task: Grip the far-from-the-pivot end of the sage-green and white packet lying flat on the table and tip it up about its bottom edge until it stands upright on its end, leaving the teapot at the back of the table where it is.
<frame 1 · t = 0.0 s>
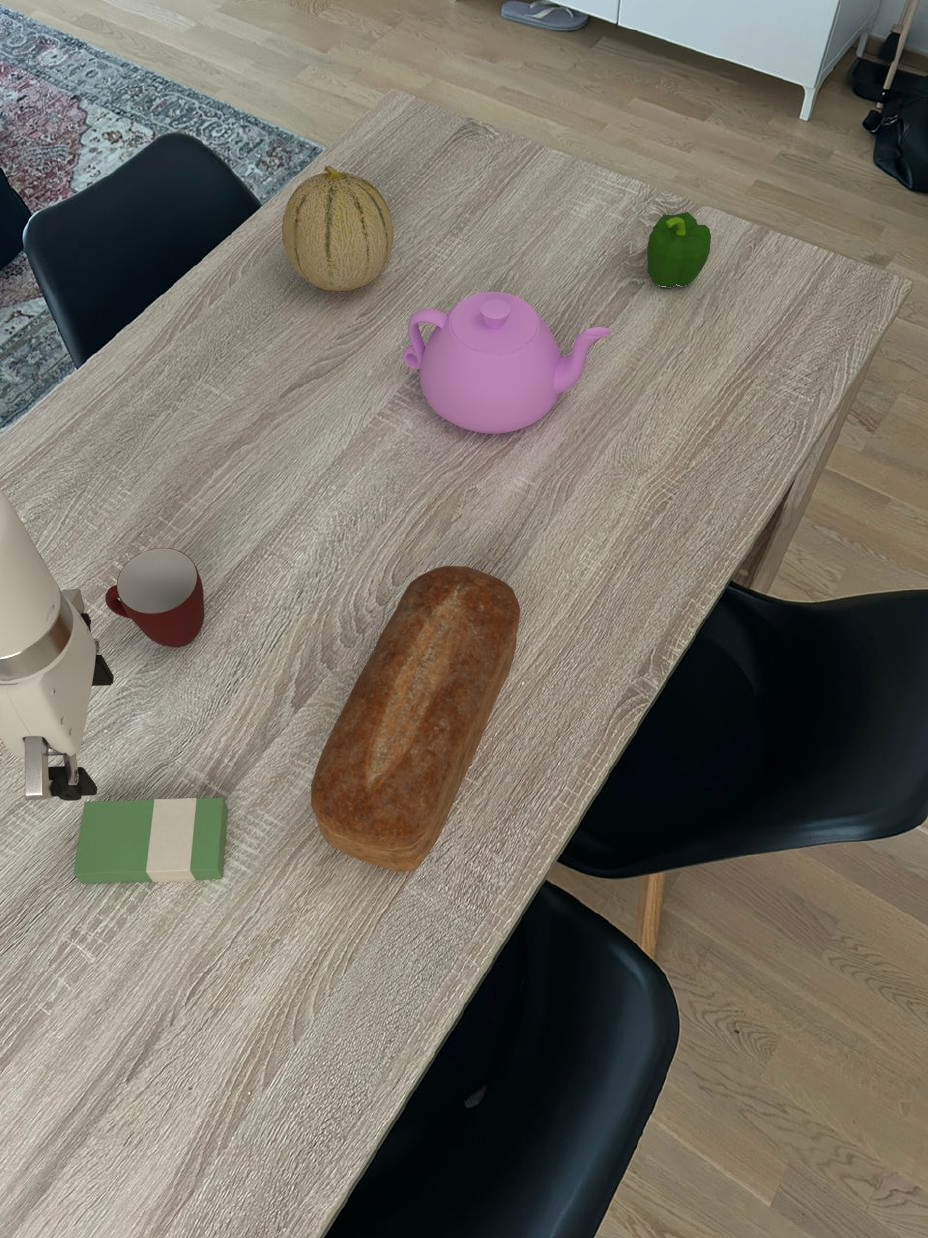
hand: (86, 735, 83), 20 cm above the table, tool pointing down, fingers open, 9 cm apart
mug: (167, 632, 112), on the table
bell pepper: (669, 277, 144), on the table
cantaloupe: (342, 278, 142), on the table
teapot: (498, 393, 132), on the table
packet: (153, 840, 98), point 2 cm above the table, hinge at 1.2°
bread: (422, 736, 106), on the table
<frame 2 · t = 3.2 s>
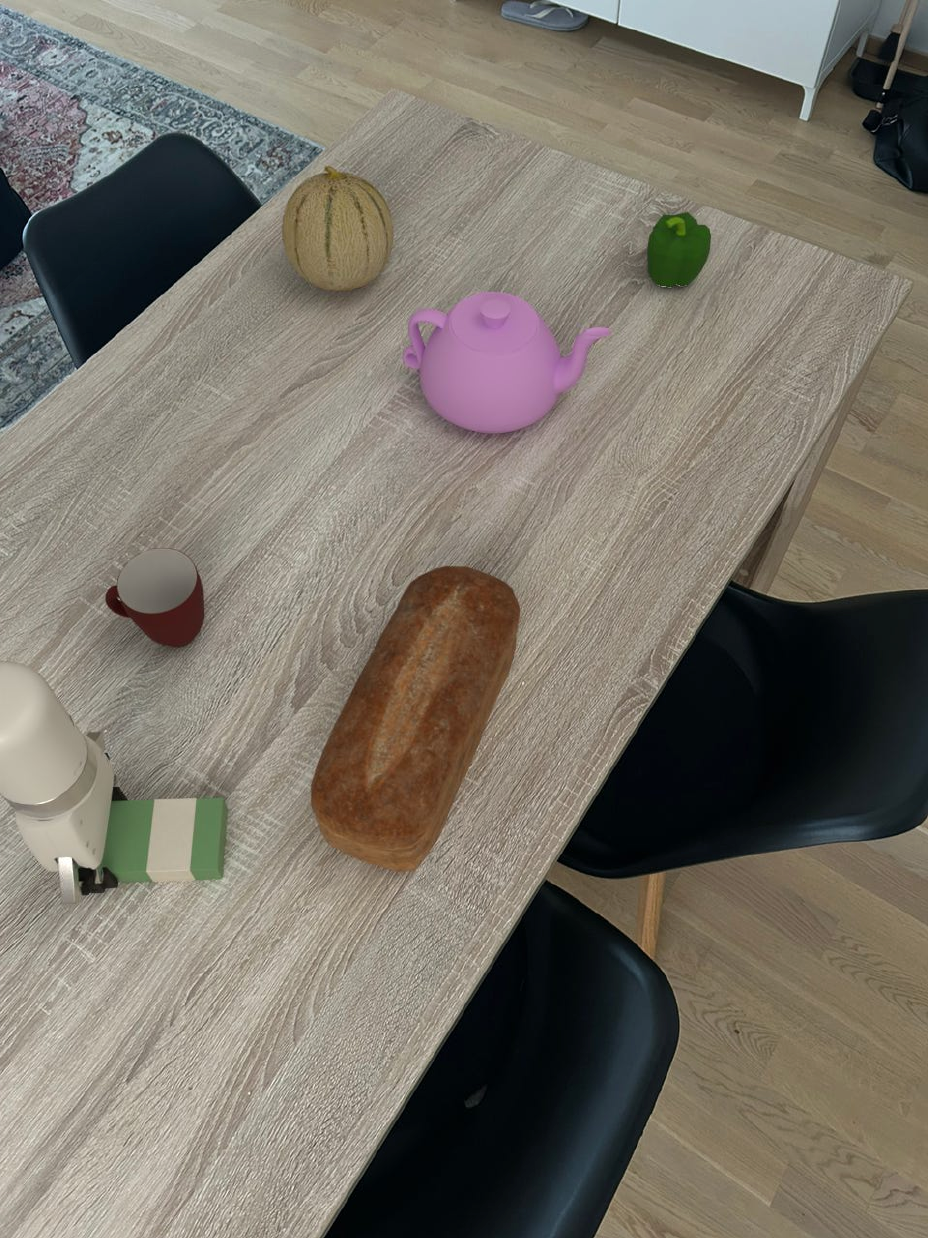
hand: (106, 844, 98), 1 cm above the table, tool pointing down, fingers closed on packet, 7 cm apart
packet: (153, 840, 98), point 2 cm above the table, hinge at 1.1°, touching gripper
everything else where it was.
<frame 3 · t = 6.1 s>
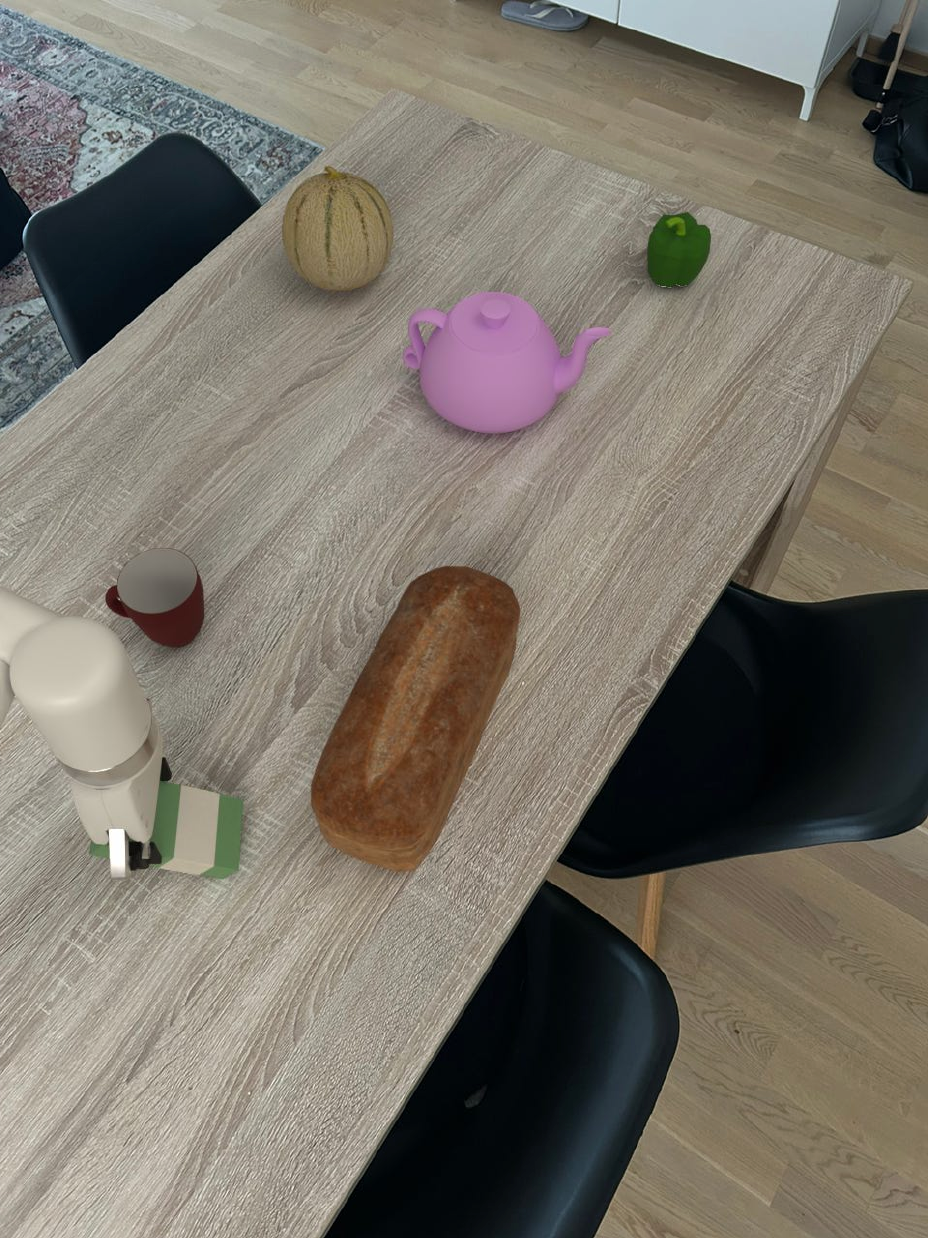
hand: (149, 818, 93), 7 cm above the table, tool pointing down, fingers closed on packet, 7 cm apart
packet: (169, 826, 95), point 5 cm above the table, hinge at 38.4°, touching gripper
everything else where it was.
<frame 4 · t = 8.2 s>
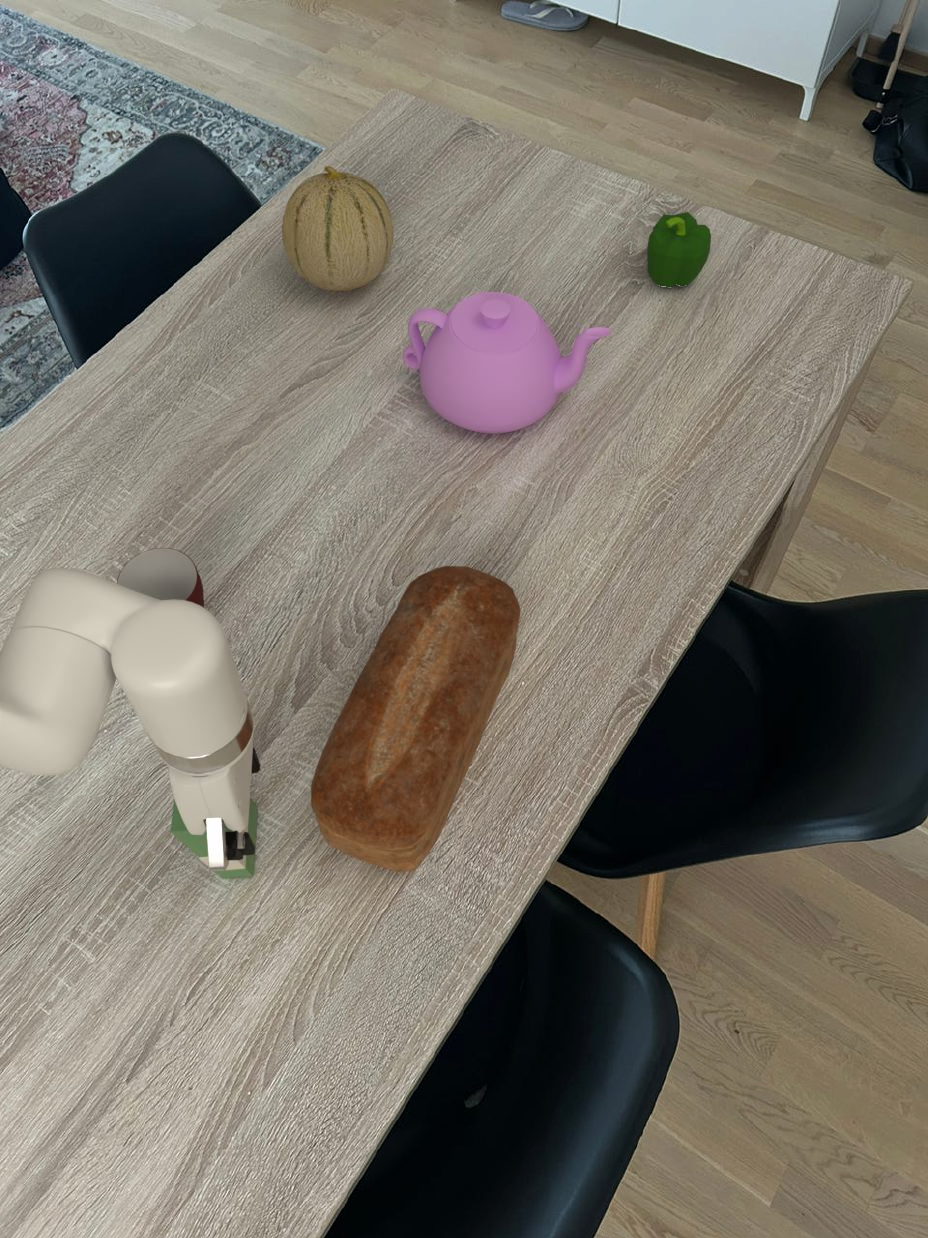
hand: (240, 809, 93), 9 cm above the table, tool pointing down, fingers closed on packet, 7 cm apart
packet: (217, 818, 94), point 7 cm above the table, hinge at 80.8°, touching gripper
everything else where it was.
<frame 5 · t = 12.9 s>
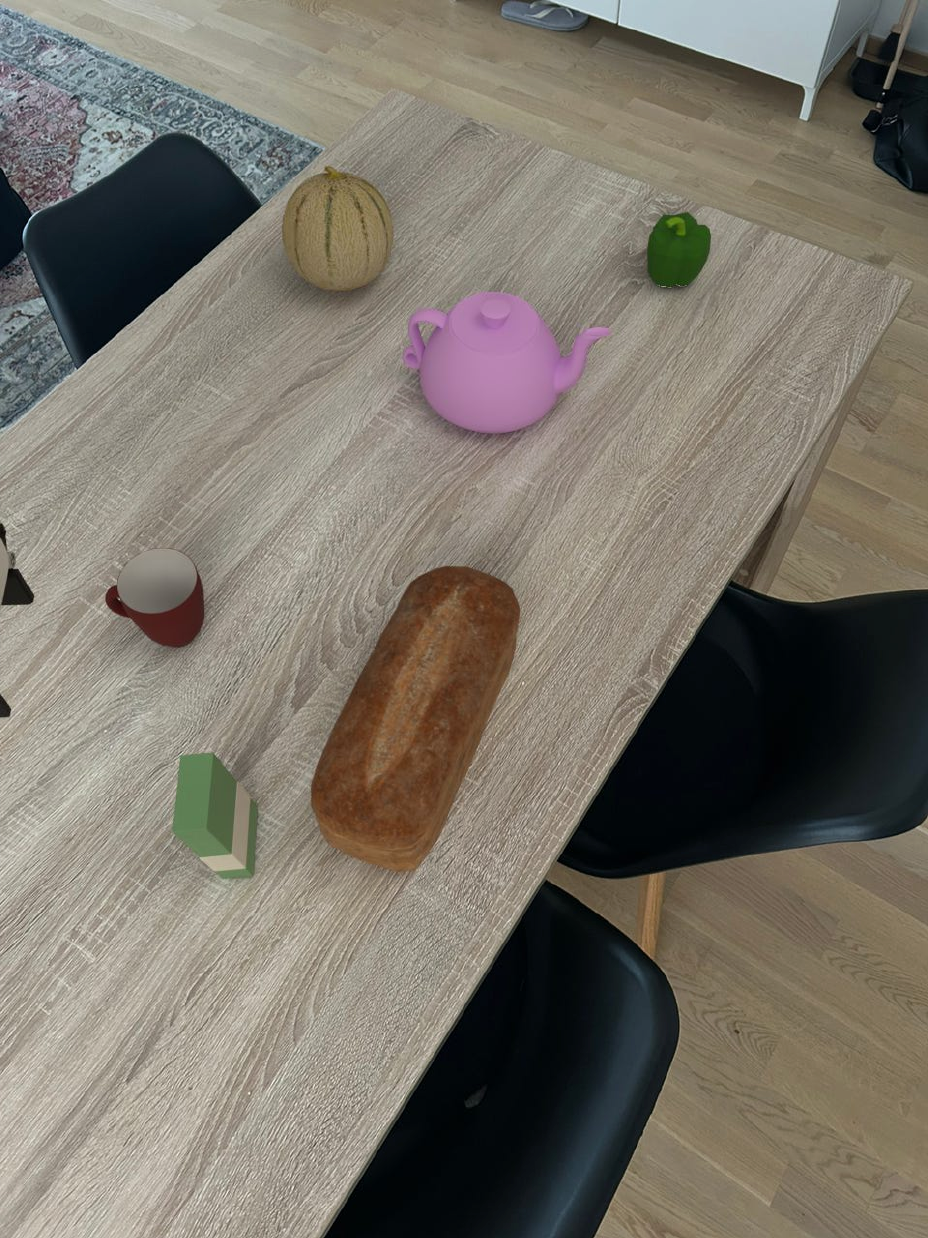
hand: (2, 656, 78), 28 cm above the table, tool pointing down, fingers open, 9 cm apart
packet: (218, 818, 94), point 7 cm above the table, hinge at 81.3°
everything else where it was.
at the end: packet at +81° (first picture: +1°); teapot moved 0.2 cm from its start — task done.
